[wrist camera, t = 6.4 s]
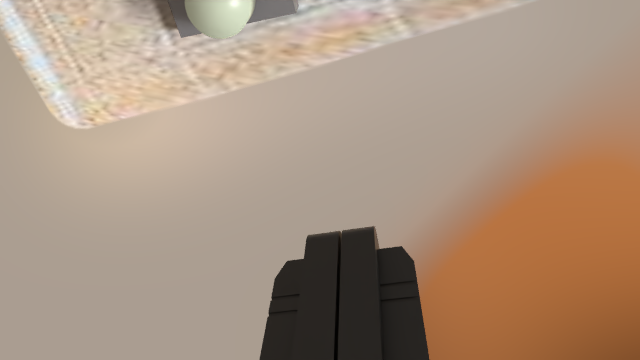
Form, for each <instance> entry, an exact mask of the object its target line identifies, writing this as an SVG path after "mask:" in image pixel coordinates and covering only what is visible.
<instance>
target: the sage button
mask: <svg viewBox="0 0 640 360" xmlns="http://www.w3.org/2000/svg"><path fill="white" fill-rule="evenodd" d="M255 2H256V0H185V9H186V13H187V15H188V17H189V19H190V21H191V23H192V24H193V25H194V26H195V28H197V29H198V30H199V31H200V32H201V33H203V34H205V35H207V36H209V37H212V38H217V39H225V38H230V37H232V36H234V35H236V34H237V33H239V32H240V31H241V30H242V29H243V27H244V26H245V25H246V23H247V22H248V20H249V19H250V17H251V16H252V14H253V11H254V9H255Z"/></svg>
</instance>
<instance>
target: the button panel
mask: <svg viewBox="0 0 640 360" xmlns="http://www.w3.org/2000/svg"><path fill="white" fill-rule="evenodd" d="M168 3H169V5H170V8H171V11H172V14H173V16H174V19H175V22H176V25H177V28H178V30H179V33H180V36H181V38H183V37H187V36H192V35H197V34H201V32H200V31H199V30H198V29H197V28H195V26H194V25H193V24H192V23H191V21H190V19H189V17H188V15H187V13H186V9H185V0H168ZM298 6H299V5H298V1H297V0H256V2H255V9H254V11H253V14H252V16H251V17H250V19H249V20H248V22H247V23H252V22H257V21H261V20H266V19H271V18H275V17H280V16H284V15H289V14H294V13H296V12H297V9H298ZM247 23H246V24H247Z"/></svg>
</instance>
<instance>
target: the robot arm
mask: <svg viewBox="0 0 640 360" xmlns="http://www.w3.org/2000/svg"><path fill="white" fill-rule="evenodd" d="M260 360H429V354H428V348H427V341H426V335H425V328H424V323H423V316H422V309H421V304H420V297H419V290H418V284H417V277H416V271H415V265H414V261H413V260H412V258H411V257H410V256H409V255H408V253H407V252H406V251H405V250H404V249H403V247H402V246H400V247H392V248H384V249H379V244H378V239H377V234H376V229H375V227H374V226H372V227H365V228H357V229H350V230H343V231H342V234H341V232H340V231H336V232H329V233H322V234H315V235H308V236H307V239H306V247H305V255H304V259H299V260H292V261H287V262H286V263H285V265H284V266H283V268H282V269H281V271H280V272H279V274H278V275H277V276H276V278H275V281H274V286H273V292H272V301H271V303H270V308H269V317H268V318H267V323H266V329H265V334H264V339H263V344H262V350H261V355H260Z"/></svg>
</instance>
